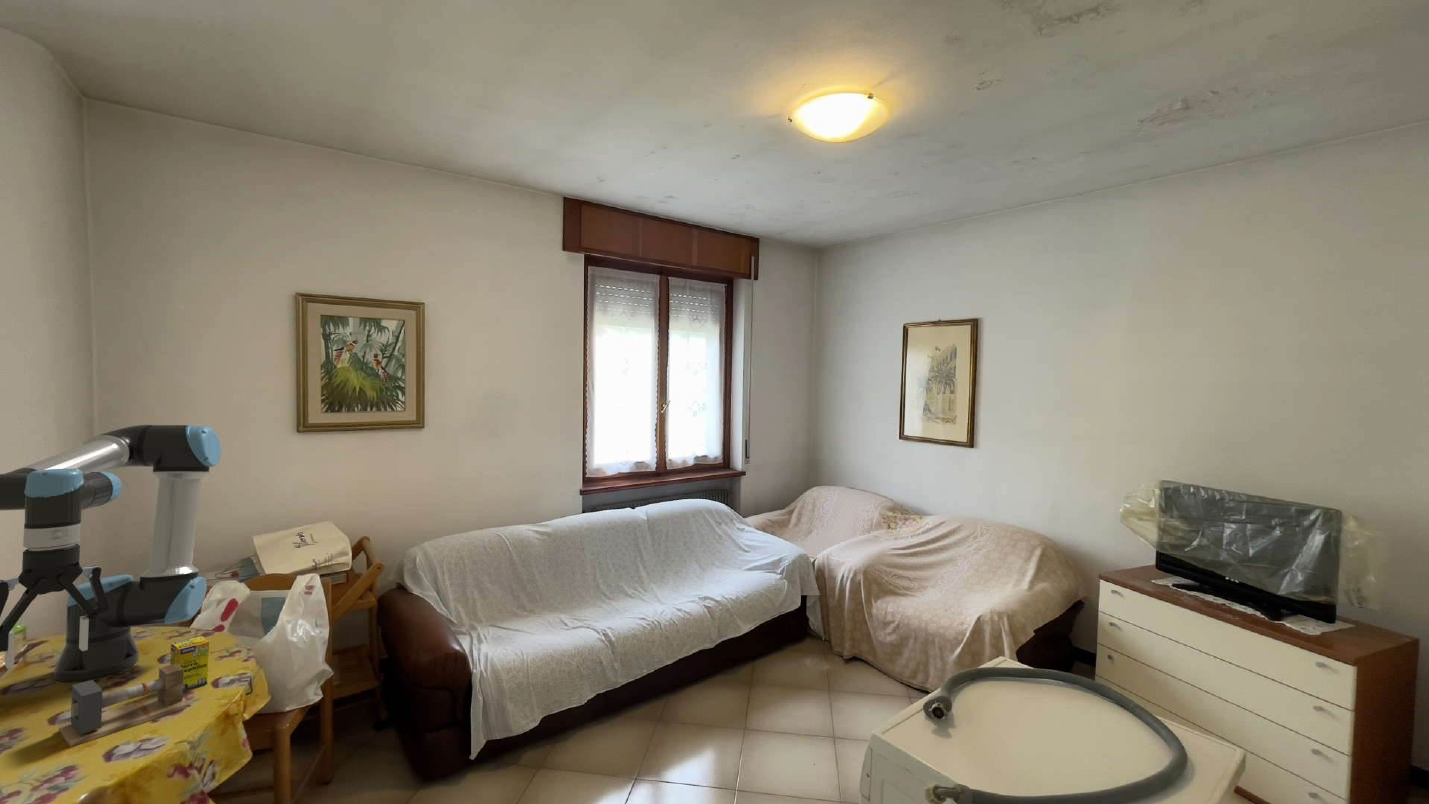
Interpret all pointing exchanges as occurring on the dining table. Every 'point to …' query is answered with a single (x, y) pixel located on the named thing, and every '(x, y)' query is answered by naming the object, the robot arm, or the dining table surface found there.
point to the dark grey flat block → (87, 706)
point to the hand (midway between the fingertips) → (47, 657)
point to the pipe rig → (134, 706)
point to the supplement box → (192, 661)
